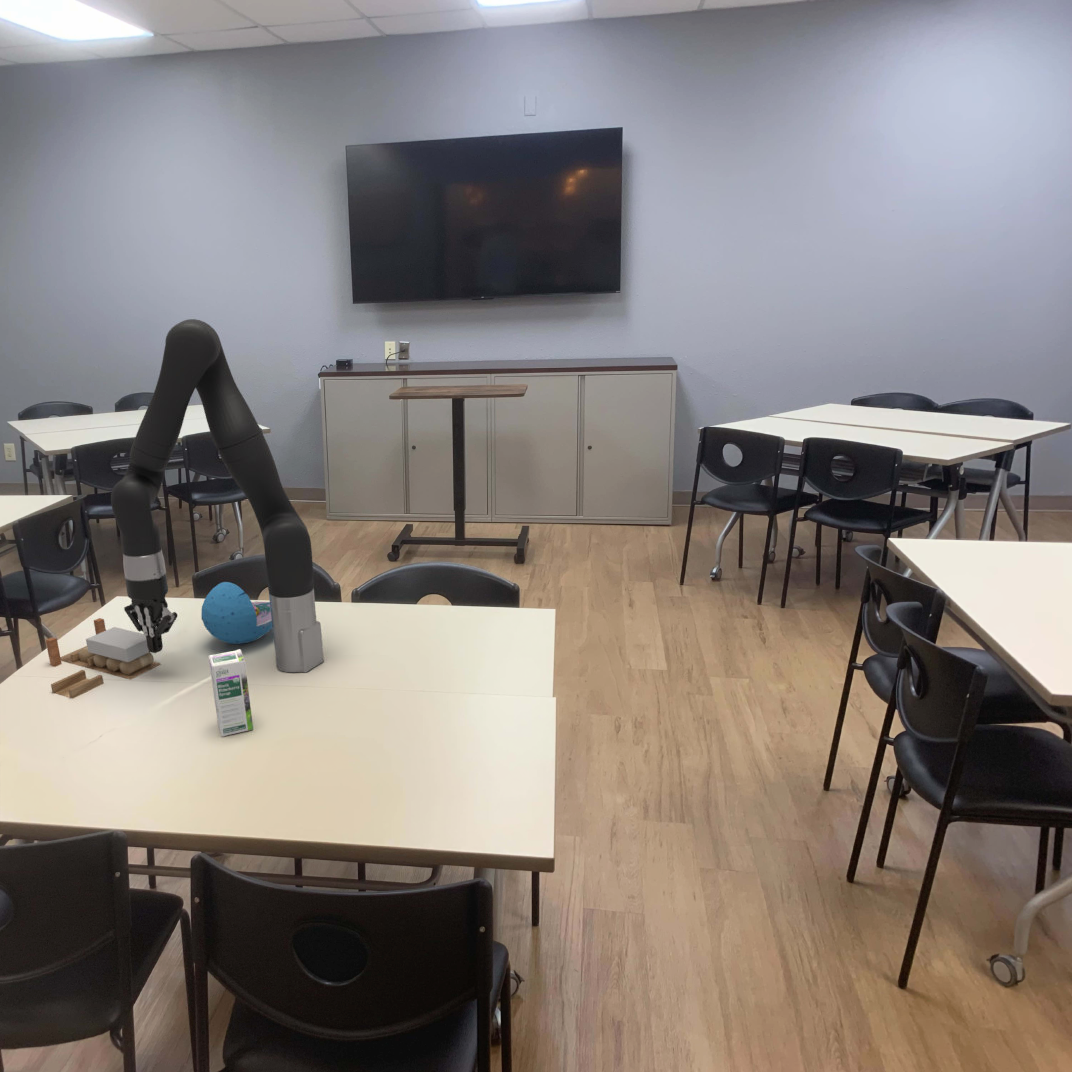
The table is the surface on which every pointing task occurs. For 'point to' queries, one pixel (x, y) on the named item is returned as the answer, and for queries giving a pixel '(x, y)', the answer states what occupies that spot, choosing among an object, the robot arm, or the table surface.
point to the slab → (118, 644)
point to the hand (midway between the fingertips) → (155, 651)
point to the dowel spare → (85, 654)
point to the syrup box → (231, 692)
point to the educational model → (235, 615)
